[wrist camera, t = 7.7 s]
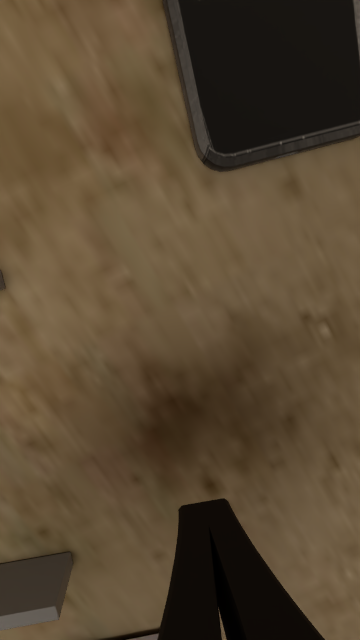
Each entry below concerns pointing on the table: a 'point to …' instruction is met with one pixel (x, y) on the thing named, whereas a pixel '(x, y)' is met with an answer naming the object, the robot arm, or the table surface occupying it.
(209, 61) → the phone
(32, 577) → the grey u-shaped rail
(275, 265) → the table surface
